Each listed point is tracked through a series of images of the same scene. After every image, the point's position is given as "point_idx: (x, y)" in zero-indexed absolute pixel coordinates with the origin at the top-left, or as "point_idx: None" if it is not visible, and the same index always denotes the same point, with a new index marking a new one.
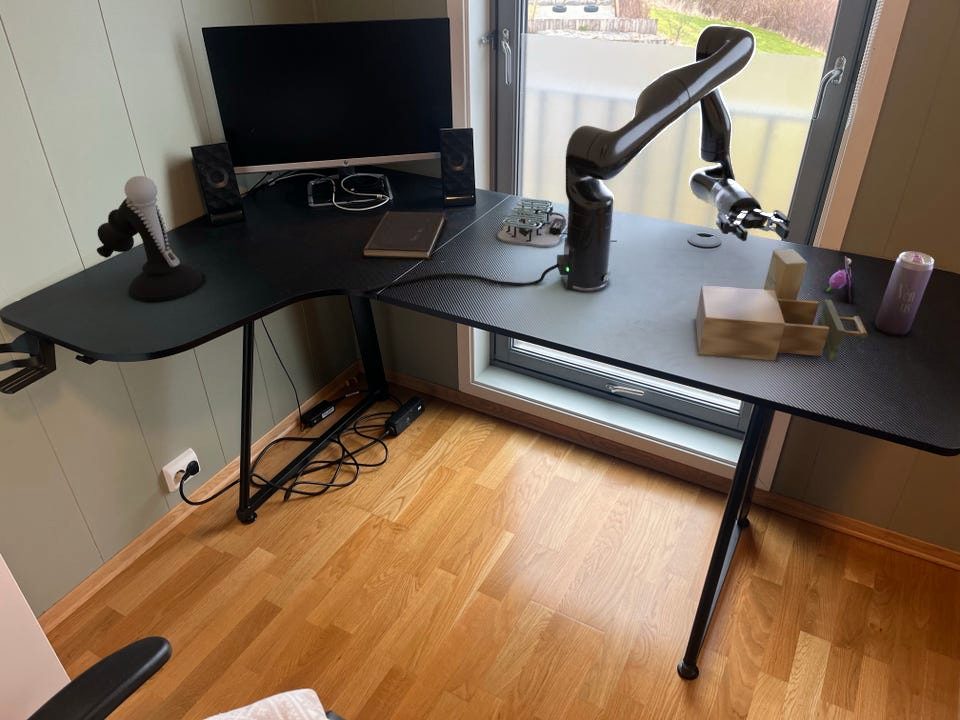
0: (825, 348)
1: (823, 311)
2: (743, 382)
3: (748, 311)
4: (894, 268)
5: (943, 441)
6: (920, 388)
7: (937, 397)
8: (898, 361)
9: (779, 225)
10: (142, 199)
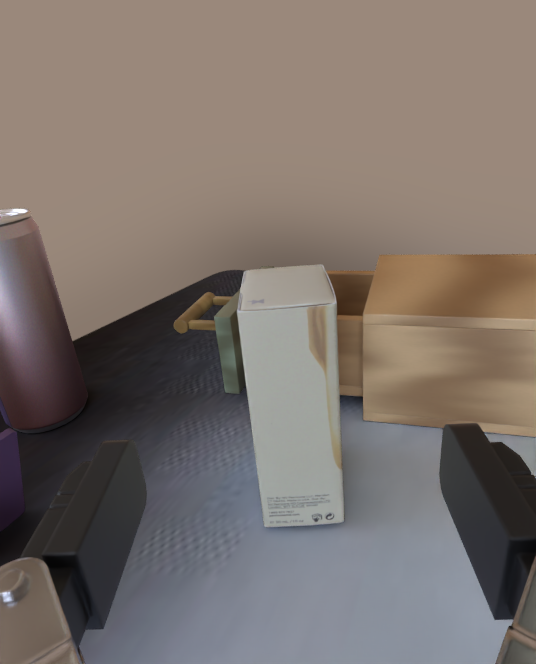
0: None
1: (238, 335)
2: None
3: (456, 267)
4: (29, 256)
5: (226, 271)
6: (174, 311)
7: (167, 303)
8: (148, 345)
9: (93, 526)
10: None
